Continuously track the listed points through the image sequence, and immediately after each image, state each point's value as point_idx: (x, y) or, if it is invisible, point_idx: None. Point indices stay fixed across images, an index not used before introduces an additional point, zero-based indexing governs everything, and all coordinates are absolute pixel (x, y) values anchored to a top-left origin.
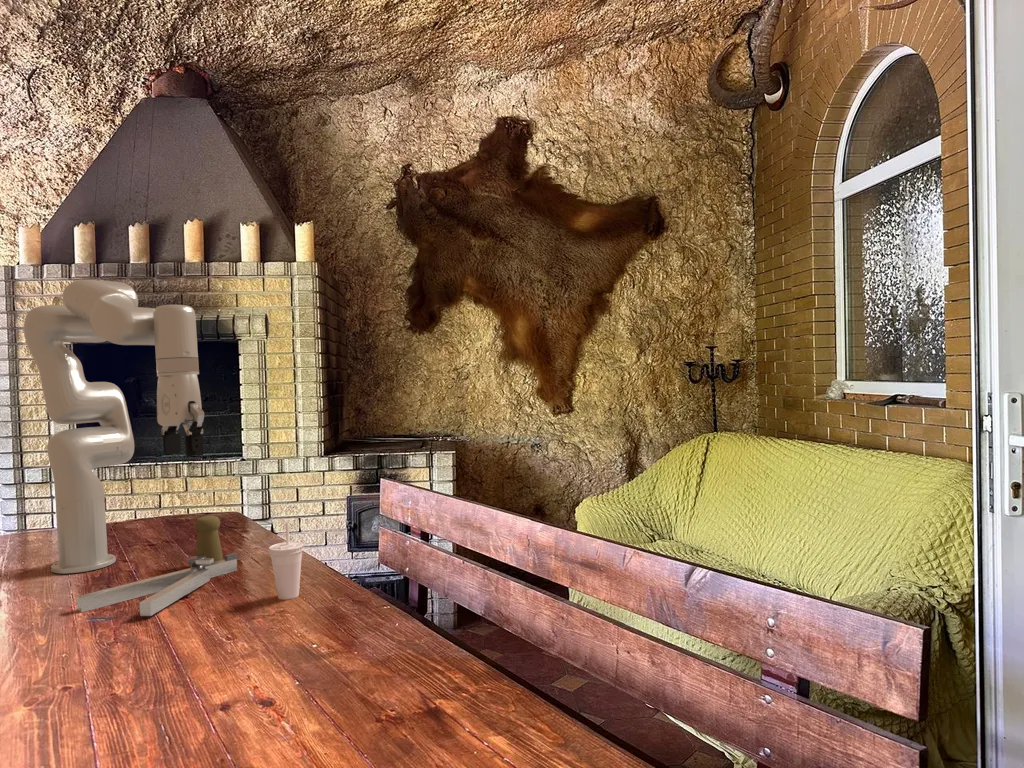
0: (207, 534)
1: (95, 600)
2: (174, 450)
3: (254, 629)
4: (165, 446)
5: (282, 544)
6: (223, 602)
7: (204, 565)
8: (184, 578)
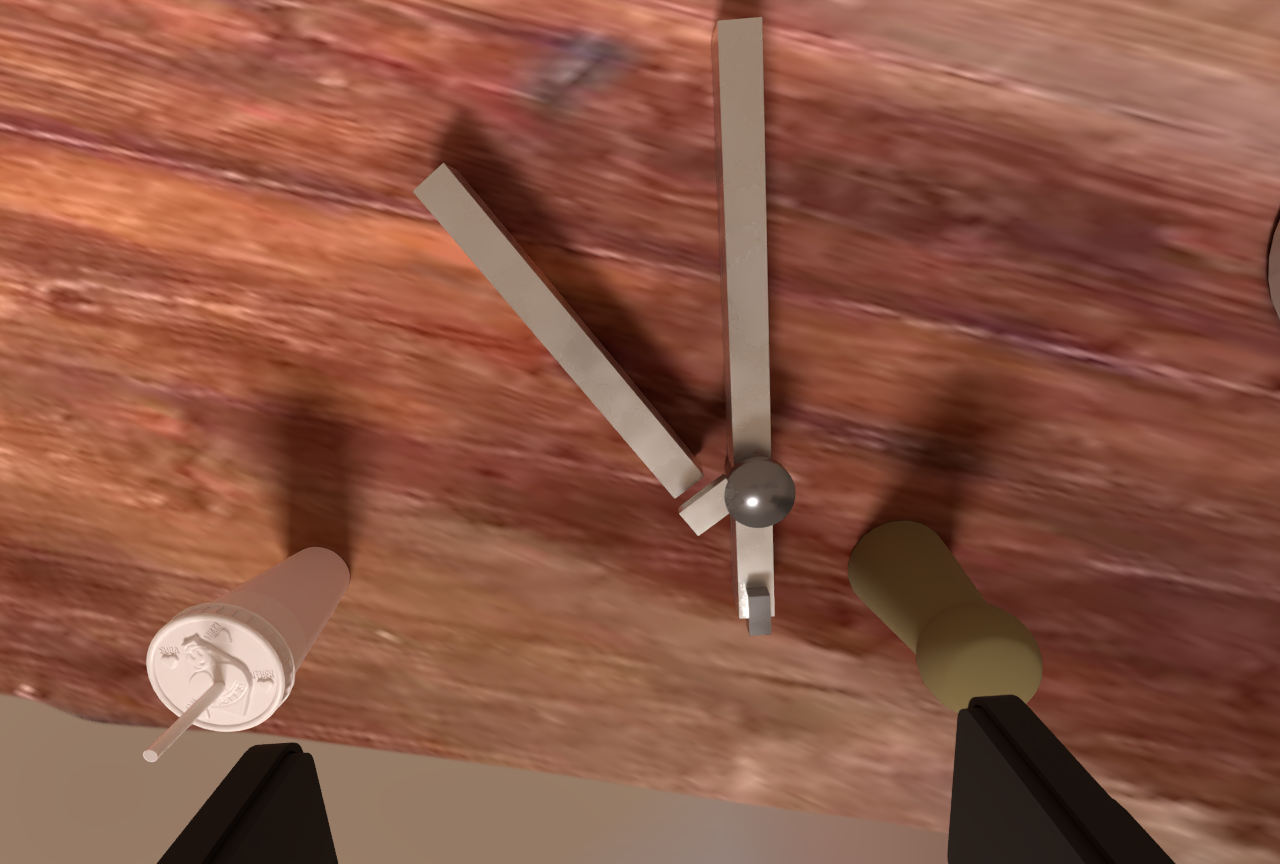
0: (920, 620)
1: (716, 86)
2: (967, 832)
3: (92, 378)
4: (1025, 789)
5: (233, 673)
6: (418, 422)
7: None
8: (622, 389)
